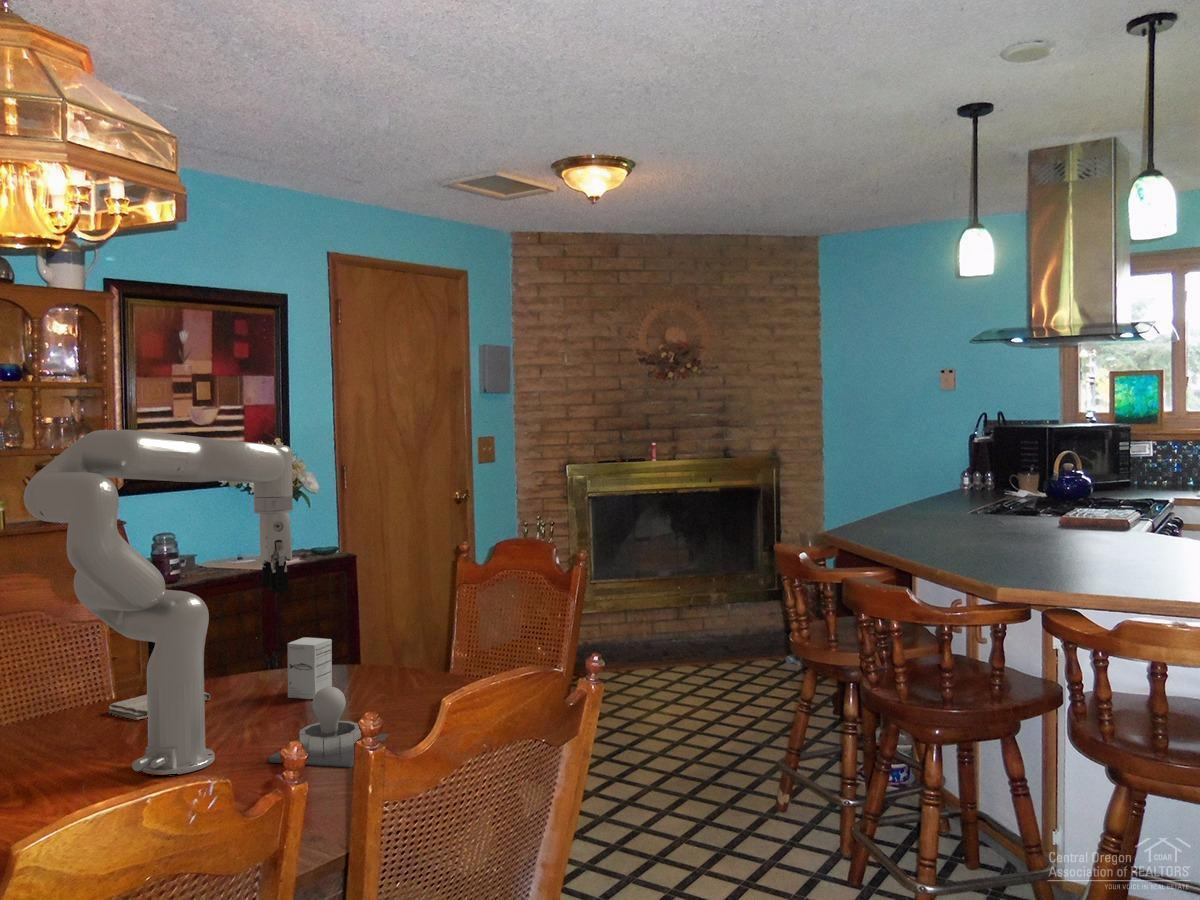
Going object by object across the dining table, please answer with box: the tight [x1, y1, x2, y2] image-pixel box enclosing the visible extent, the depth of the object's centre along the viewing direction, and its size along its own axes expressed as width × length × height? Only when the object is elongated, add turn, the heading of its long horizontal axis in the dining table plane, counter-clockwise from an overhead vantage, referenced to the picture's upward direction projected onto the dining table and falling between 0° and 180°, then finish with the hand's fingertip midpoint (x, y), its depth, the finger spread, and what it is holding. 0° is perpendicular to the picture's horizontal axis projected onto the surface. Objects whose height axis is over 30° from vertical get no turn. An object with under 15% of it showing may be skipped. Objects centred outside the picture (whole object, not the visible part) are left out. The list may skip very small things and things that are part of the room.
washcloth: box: [108, 691, 211, 720], centre depth 212 cm, size 12×18×3 cm, turn 150°
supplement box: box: [287, 637, 333, 700], centre depth 221 cm, size 7×7×13 cm
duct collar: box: [268, 720, 389, 769], centre depth 182 cm, size 16×16×4 cm
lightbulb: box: [311, 686, 347, 737], centre depth 182 cm, size 6×6×11 cm
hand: (274, 588), depth 197 cm, fingers open, 9 cm apart
